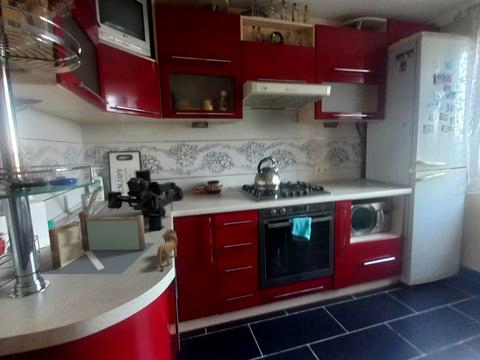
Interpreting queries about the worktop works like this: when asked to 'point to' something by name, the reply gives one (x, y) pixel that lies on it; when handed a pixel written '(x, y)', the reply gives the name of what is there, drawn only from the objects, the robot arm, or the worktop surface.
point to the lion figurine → (167, 247)
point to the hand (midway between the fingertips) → (121, 207)
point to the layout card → (99, 262)
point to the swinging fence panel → (116, 233)
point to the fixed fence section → (68, 241)
